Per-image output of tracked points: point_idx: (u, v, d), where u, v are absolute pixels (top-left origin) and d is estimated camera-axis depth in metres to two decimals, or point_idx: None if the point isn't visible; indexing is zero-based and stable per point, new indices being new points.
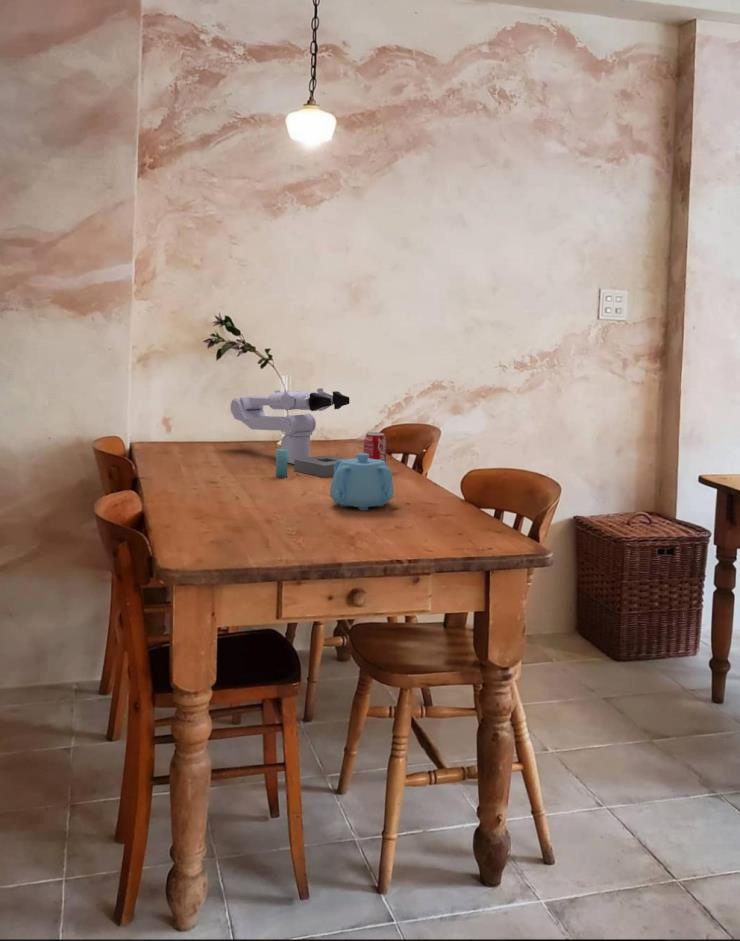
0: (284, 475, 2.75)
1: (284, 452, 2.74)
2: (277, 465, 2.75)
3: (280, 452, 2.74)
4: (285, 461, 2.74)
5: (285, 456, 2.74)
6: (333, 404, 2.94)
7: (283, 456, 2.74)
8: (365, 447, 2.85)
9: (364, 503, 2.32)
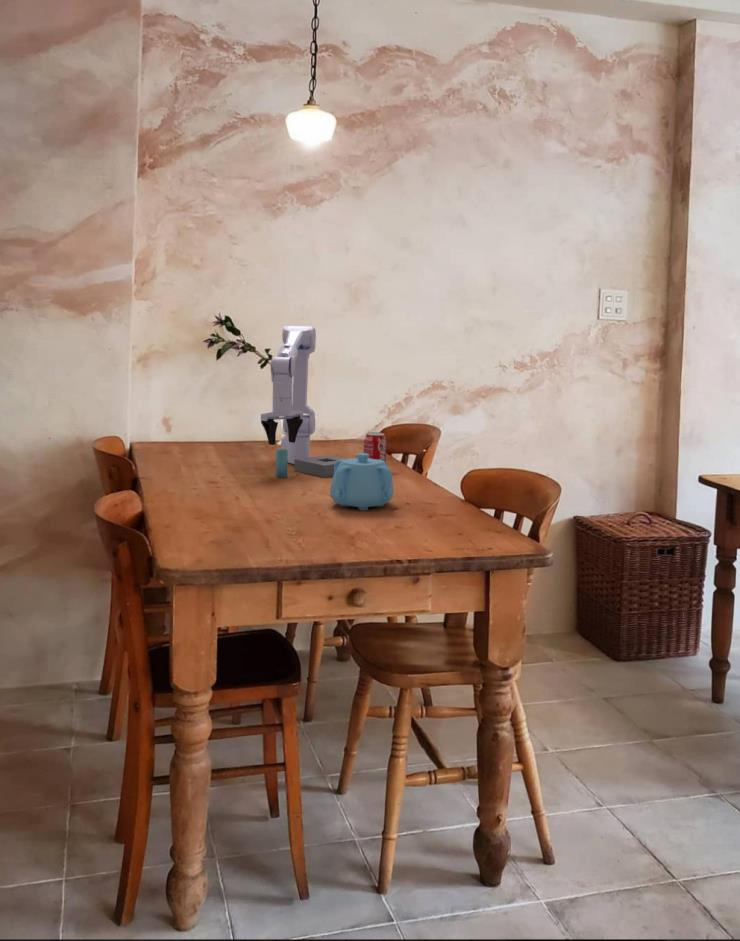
0: (284, 475, 2.75)
1: (284, 452, 2.74)
2: (277, 465, 2.75)
3: (280, 452, 2.74)
4: (285, 461, 2.74)
5: (285, 456, 2.74)
6: None
7: (283, 456, 2.74)
8: (365, 447, 2.85)
9: (364, 503, 2.32)
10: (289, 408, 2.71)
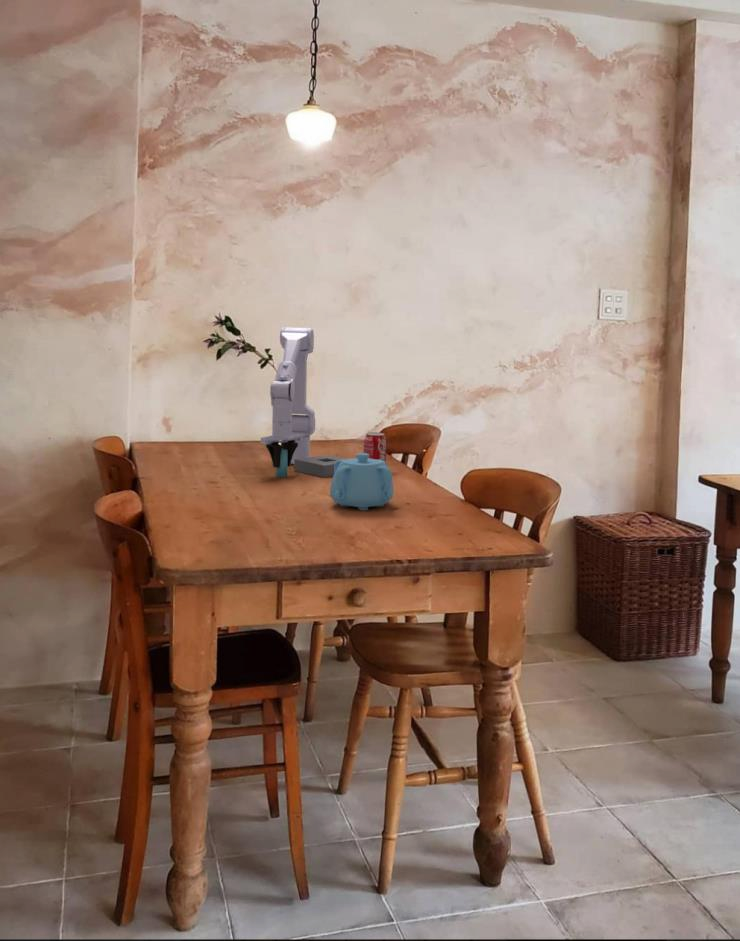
0: (284, 475, 2.75)
1: (284, 452, 2.74)
2: None
3: None
4: (285, 461, 2.74)
5: (285, 456, 2.74)
6: None
7: (283, 456, 2.74)
8: (365, 447, 2.85)
9: (364, 503, 2.32)
10: (289, 432, 2.72)
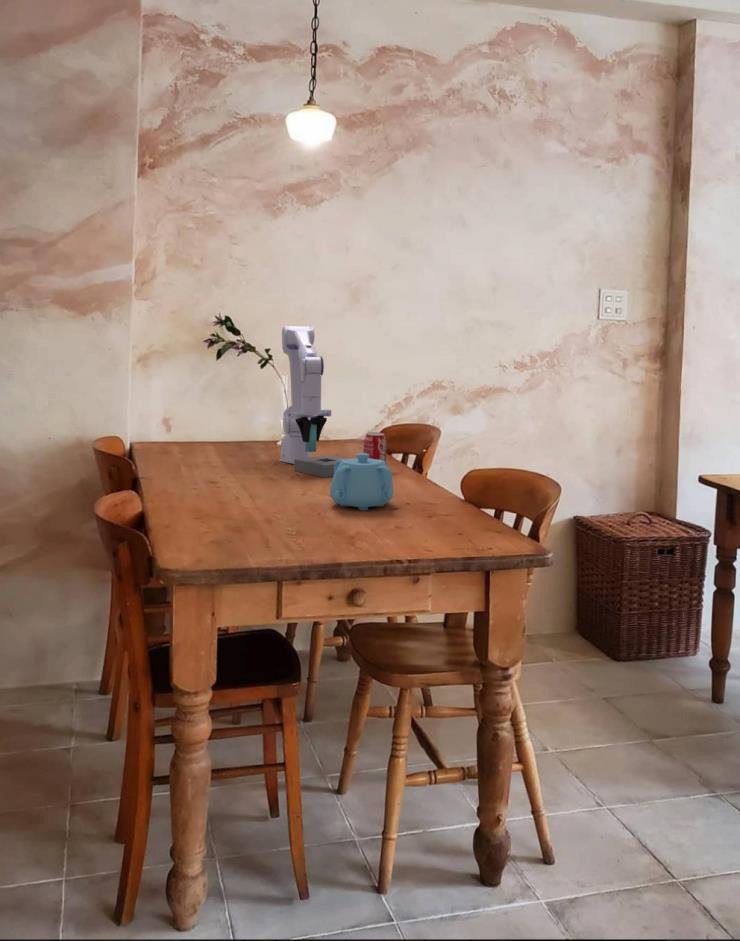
0: (313, 450, 2.80)
1: (313, 427, 2.79)
2: None
3: None
4: (314, 435, 2.79)
5: (314, 431, 2.79)
6: None
7: (313, 431, 2.79)
8: (365, 447, 2.85)
9: (364, 504, 2.32)
10: (318, 407, 2.77)
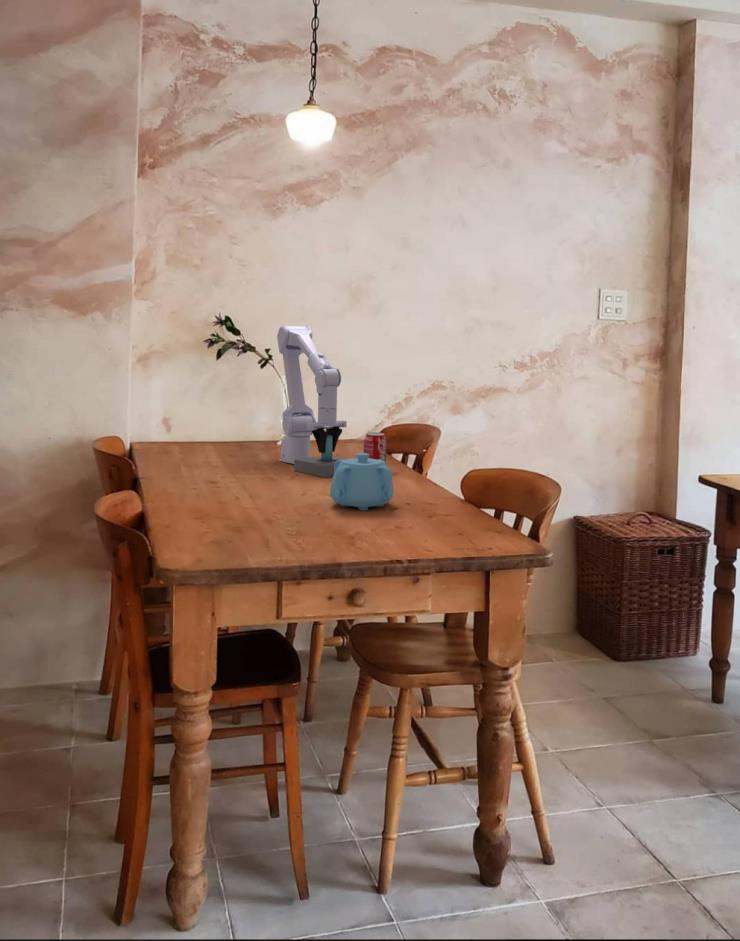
0: (329, 460, 2.84)
1: (329, 438, 2.83)
2: None
3: (326, 438, 2.83)
4: (330, 446, 2.83)
5: (330, 442, 2.83)
6: None
7: (329, 442, 2.83)
8: (365, 447, 2.85)
9: (364, 503, 2.32)
10: (334, 418, 2.82)
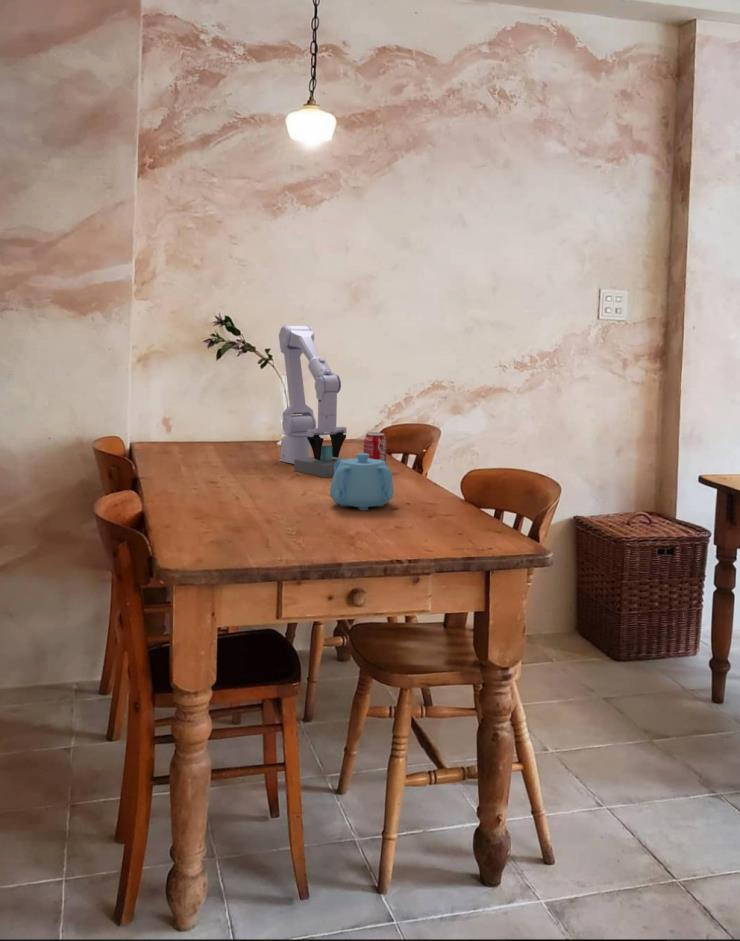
0: None
1: (329, 448, 2.83)
2: None
3: (325, 448, 2.83)
4: (330, 457, 2.84)
5: (330, 452, 2.84)
6: None
7: (328, 452, 2.83)
8: (365, 447, 2.85)
9: (364, 503, 2.32)
10: (334, 424, 2.82)
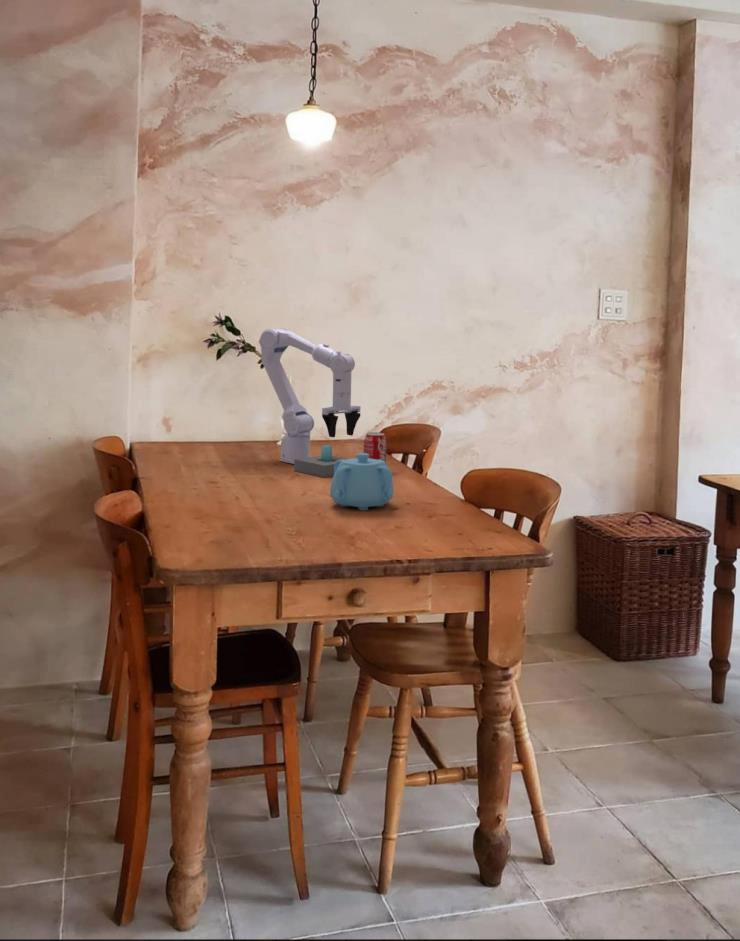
0: None
1: (329, 448, 2.83)
2: None
3: (325, 448, 2.83)
4: (330, 457, 2.84)
5: (330, 452, 2.84)
6: None
7: (328, 452, 2.83)
8: (365, 447, 2.85)
9: (364, 503, 2.32)
10: (348, 403, 2.90)
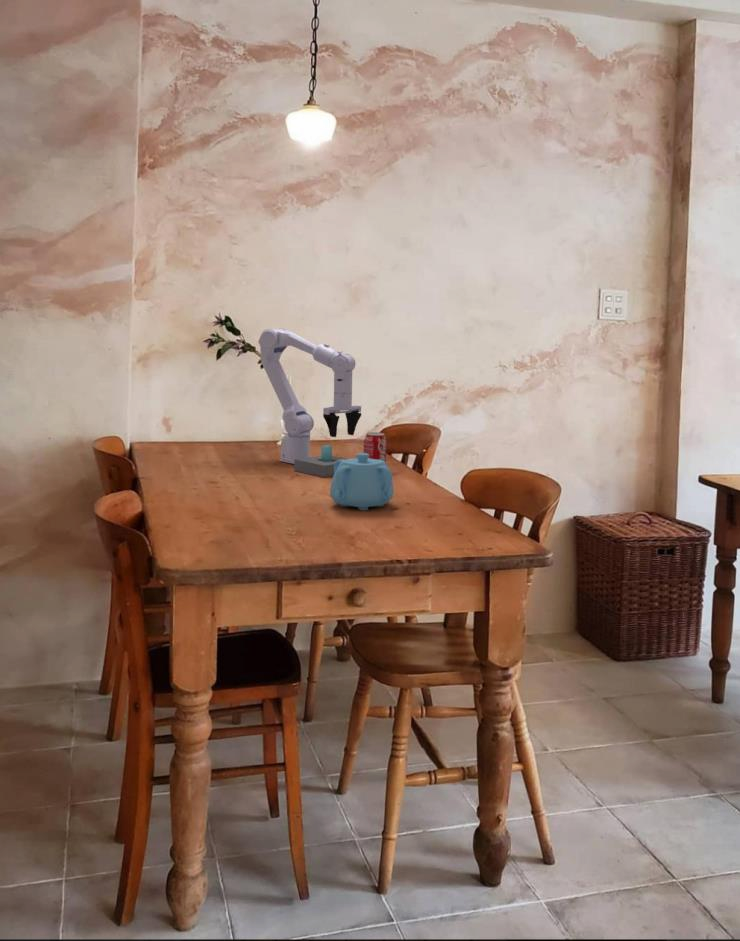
0: None
1: (329, 448, 2.83)
2: None
3: (325, 448, 2.83)
4: (330, 457, 2.84)
5: (330, 452, 2.84)
6: None
7: (329, 452, 2.83)
8: (365, 447, 2.85)
9: (364, 503, 2.32)
10: (349, 403, 2.91)
